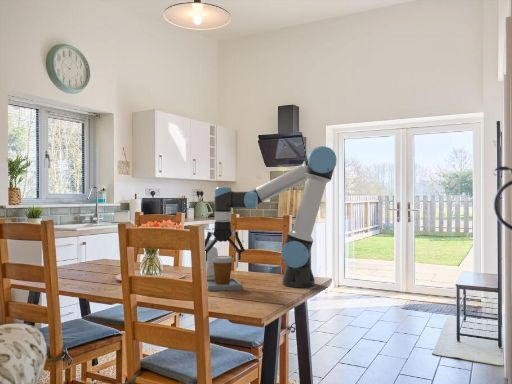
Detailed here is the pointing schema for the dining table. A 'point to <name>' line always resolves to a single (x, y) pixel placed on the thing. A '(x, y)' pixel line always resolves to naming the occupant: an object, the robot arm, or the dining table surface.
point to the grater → (212, 254)
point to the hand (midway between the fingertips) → (222, 267)
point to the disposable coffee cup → (222, 269)
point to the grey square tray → (232, 285)
